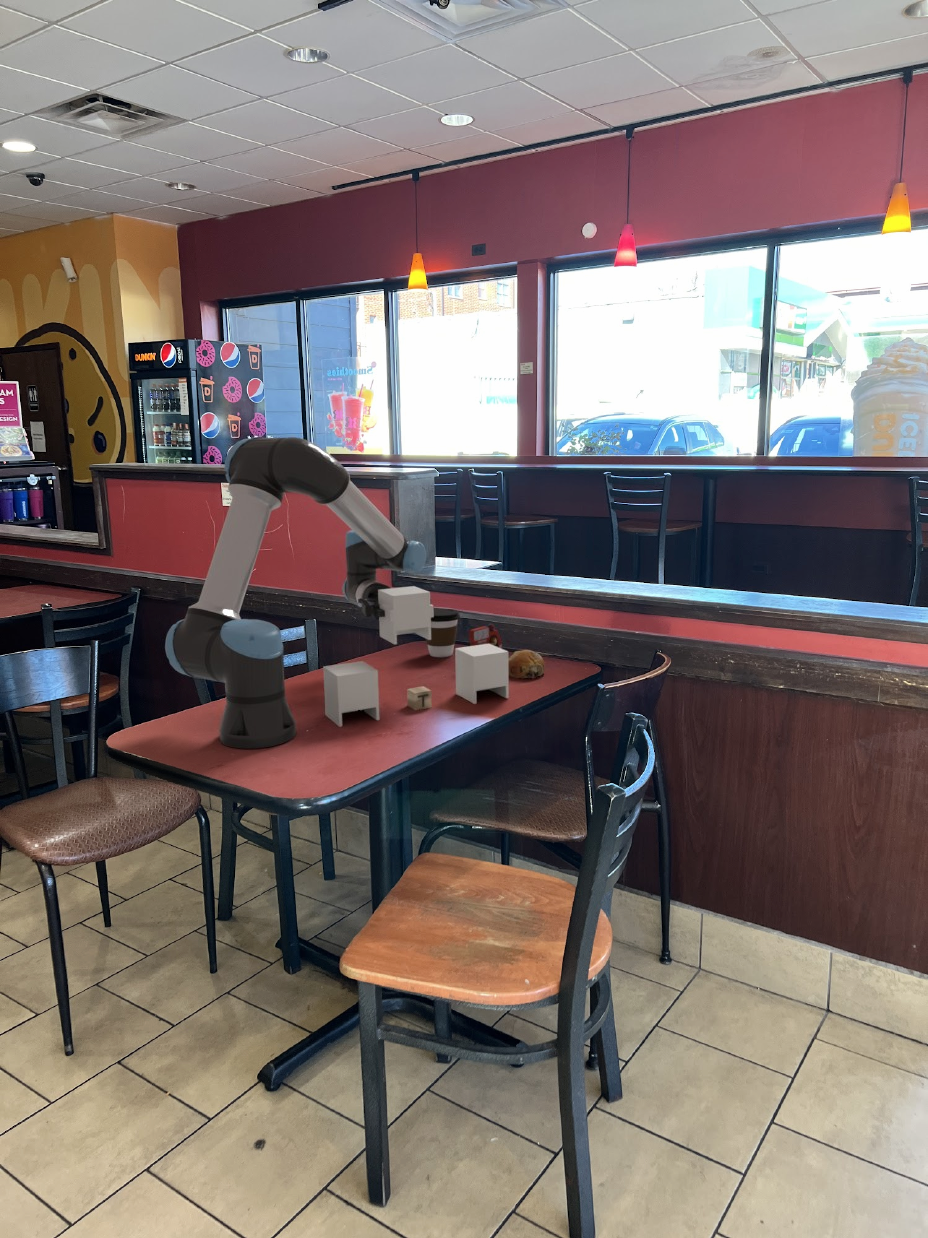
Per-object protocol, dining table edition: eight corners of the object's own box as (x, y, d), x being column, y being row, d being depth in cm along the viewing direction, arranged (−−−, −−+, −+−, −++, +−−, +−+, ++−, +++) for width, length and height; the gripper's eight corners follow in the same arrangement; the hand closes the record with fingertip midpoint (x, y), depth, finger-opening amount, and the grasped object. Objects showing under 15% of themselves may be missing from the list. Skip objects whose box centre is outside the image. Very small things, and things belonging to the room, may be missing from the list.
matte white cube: (339, 726, 186) (337, 676, 184) (325, 715, 194) (323, 666, 191) (379, 720, 190) (377, 670, 188) (364, 708, 198) (362, 661, 195)
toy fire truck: (510, 661, 237) (510, 623, 235) (481, 671, 228) (481, 631, 226) (490, 657, 242) (490, 620, 239) (461, 666, 232) (460, 628, 230)
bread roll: (544, 684, 228) (545, 654, 230) (544, 678, 218) (545, 646, 220) (506, 684, 229) (506, 653, 231) (504, 677, 219) (505, 645, 221)
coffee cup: (443, 647, 253) (443, 606, 250) (468, 654, 244) (468, 612, 242) (413, 654, 246) (412, 611, 243) (437, 661, 237) (436, 617, 235)
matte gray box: (474, 703, 200) (473, 656, 198) (455, 693, 208) (455, 648, 206) (508, 698, 204) (508, 651, 202) (489, 688, 212) (489, 643, 210)
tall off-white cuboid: (394, 644, 198) (392, 595, 196) (379, 636, 206) (378, 589, 203) (431, 639, 202) (430, 592, 199) (415, 631, 210) (414, 586, 207)
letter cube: (415, 710, 196) (414, 693, 195) (407, 706, 200) (407, 688, 199) (431, 707, 198) (431, 690, 197) (423, 703, 202) (423, 686, 201)
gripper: (416, 607, 224) (456, 624, 204) (334, 617, 214) (367, 635, 194) (416, 578, 222) (455, 592, 202) (332, 586, 213) (365, 602, 193)
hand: (412, 613), depth 198 cm, fingers closed on tall off-white cuboid, 9 cm apart
